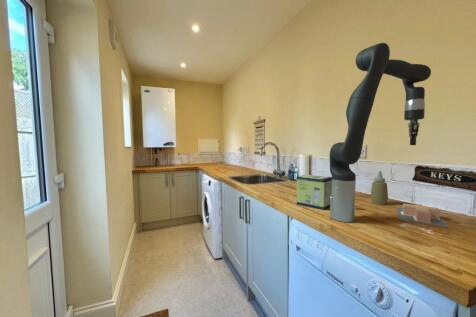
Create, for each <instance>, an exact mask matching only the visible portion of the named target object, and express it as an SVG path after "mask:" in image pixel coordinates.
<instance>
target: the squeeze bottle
mask: <svg viewBox="0 0 476 317" xmlns="http://www.w3.org/2000/svg"><path fill="white" fill-rule="evenodd" d="M377 172H378V173H377V175H376V177H374V181H372V183H371V188H370V189H371V190H370V194H369V195H370V200H371V203H372V204H374V205H377V206H386V205H387V202H388V200H389V193H388V192H389V191H388V183H387V182H386V178H385V177H383V173H382V171H381V170H380V171H377Z"/></svg>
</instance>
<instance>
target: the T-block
mask: <svg viewBox="0 0 476 317" xmlns="http://www.w3.org/2000/svg"><path fill="white" fill-rule="evenodd" d="M402 208H403V214H404V215H412V216H415V217H416V219H417V221H423V222H430V221H431V218H433V219H440V217H441V209H440V208H439V207H436V206H435V207H434V206H427V205H425V206H424V205H418V204H417V205H416V204H410V203H403V204H402Z"/></svg>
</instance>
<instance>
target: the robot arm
mask: <svg viewBox="0 0 476 317" xmlns="http://www.w3.org/2000/svg"><path fill="white" fill-rule="evenodd" d="M390 54H391V50H390V46H389V44H388V43H387V42H380V43H376V44H374V45H371V46H369V47H367V48H364V49H362V50H360V51H359V52H358V53H357V55H355V65H356V68H357V69H358V70H360V71H362V72H367V73H366V75H365V76H364V78H363V79H362V80H361V82H360V83H358V85H357V86H356V88H355V89H354V90H353V92H352V93H351V94H350V97H349V100H348V103H347V107H346V111H345V115H346V116H345V117H346V121H347V126H348V128H347V134H346V137H345V139H344V142H342V141H341V142H340V141H339V142H337V143H334V144H332V145H331V148H330V150H329V172H330V174H331V177H332V193H331V197H330V207H329V218H330V219H331V220H334V221H337V222H341V223H342V222H343V223H351V222H352V223H353V222H355V217H356V215H355V214H356V187H357V186H356V181H357V178H356V176H357V175H356V172H354V171H352V169H351V168H350V165H354V164H355V163H358V161H359V160H360V157H361V156H362V151H363V146H364V139H365V134H366V129H367V126H368V122H369V119H370V116H371V112H372V110H373V105H374V103H375V100H376V95H377V93H378V89H379V86H380V83H381V80H382V78H383V76H384V75H387V76H391V77H394V78H397V79H400V80H401V81H402V84H403V87H404V91H405V102H404V114H403V116H404V117H403V120H404V121H410V122H409V123H408V125H407V126H408V127H407V128H408V135H409V145H410V146H416V145H417V138H418V135H419V131H420V129H419V128H420V126H421V124H420V122H419V121H420V120H423V119H425V112H426V111H425V109H426V108H425V107H426V102H425V97H426V96H425V95H426V94H425V87H423V86H415V85H414V84H417V83H421V82H425V81H427V80H428V79H429V78H430V77H431V74H432V69H431V68H430V66H428V65H426V64H422V63H411V62H408V61H405V60H402V59H390Z"/></svg>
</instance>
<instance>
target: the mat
mask: <svg viewBox="0 0 476 317" xmlns="http://www.w3.org/2000/svg"><path fill="white" fill-rule="evenodd" d="M396 210H397V213H398V217H399V218H398V219H399V221H404V222H409V223H410V222H411V223H418V224H422V225H423V224H424V225H430V226H435V227H444V228H449V229H450V226H449V224H448V223H447V222H446V221H445V220H444V219H443V217H441V216H440V219H433V218H431V221H430V222H423V221H417V219H416V217H415V216H412V215H404V214H403V207H401V206H396Z"/></svg>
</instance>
